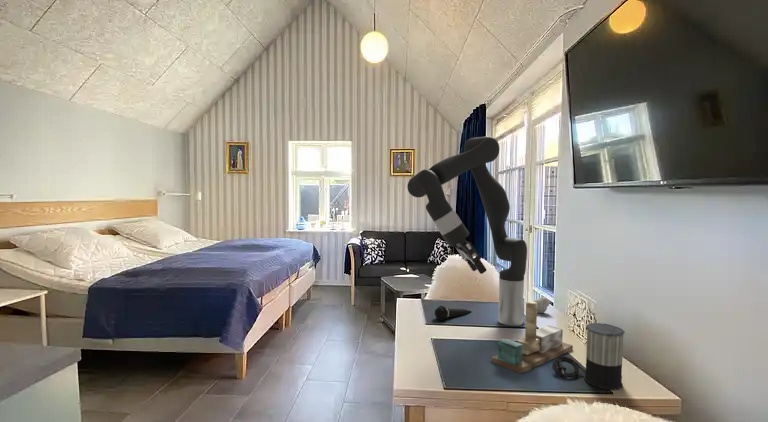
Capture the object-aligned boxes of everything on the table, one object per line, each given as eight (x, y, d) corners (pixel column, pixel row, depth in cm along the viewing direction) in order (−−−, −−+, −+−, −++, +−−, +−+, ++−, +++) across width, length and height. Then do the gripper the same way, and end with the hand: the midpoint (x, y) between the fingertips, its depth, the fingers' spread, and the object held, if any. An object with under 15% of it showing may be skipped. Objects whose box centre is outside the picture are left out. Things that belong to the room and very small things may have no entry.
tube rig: (544, 340, 142) (544, 320, 142) (572, 349, 134) (573, 328, 134) (491, 361, 124) (492, 338, 124) (520, 373, 116) (521, 349, 116)
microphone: (467, 319, 176) (432, 321, 165) (465, 305, 178) (431, 306, 166) (476, 318, 172) (442, 320, 161) (475, 304, 174) (440, 305, 162)
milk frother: (630, 390, 107) (633, 333, 106) (572, 392, 106) (574, 335, 105) (598, 367, 121) (599, 317, 121) (546, 368, 120) (547, 318, 119)
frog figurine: (550, 315, 171) (550, 299, 171) (532, 313, 174) (532, 297, 174) (549, 311, 177) (550, 295, 177) (532, 310, 180) (533, 294, 179)
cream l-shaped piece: (548, 338, 138) (550, 295, 137) (558, 341, 135) (559, 297, 134) (517, 351, 126) (518, 304, 126) (527, 354, 124) (528, 306, 123)
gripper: (466, 220, 122) (497, 266, 122) (456, 221, 136) (483, 262, 136) (446, 234, 122) (476, 280, 122) (437, 234, 136) (464, 275, 136)
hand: (479, 271), depth 129 cm, fingers open, 8 cm apart
